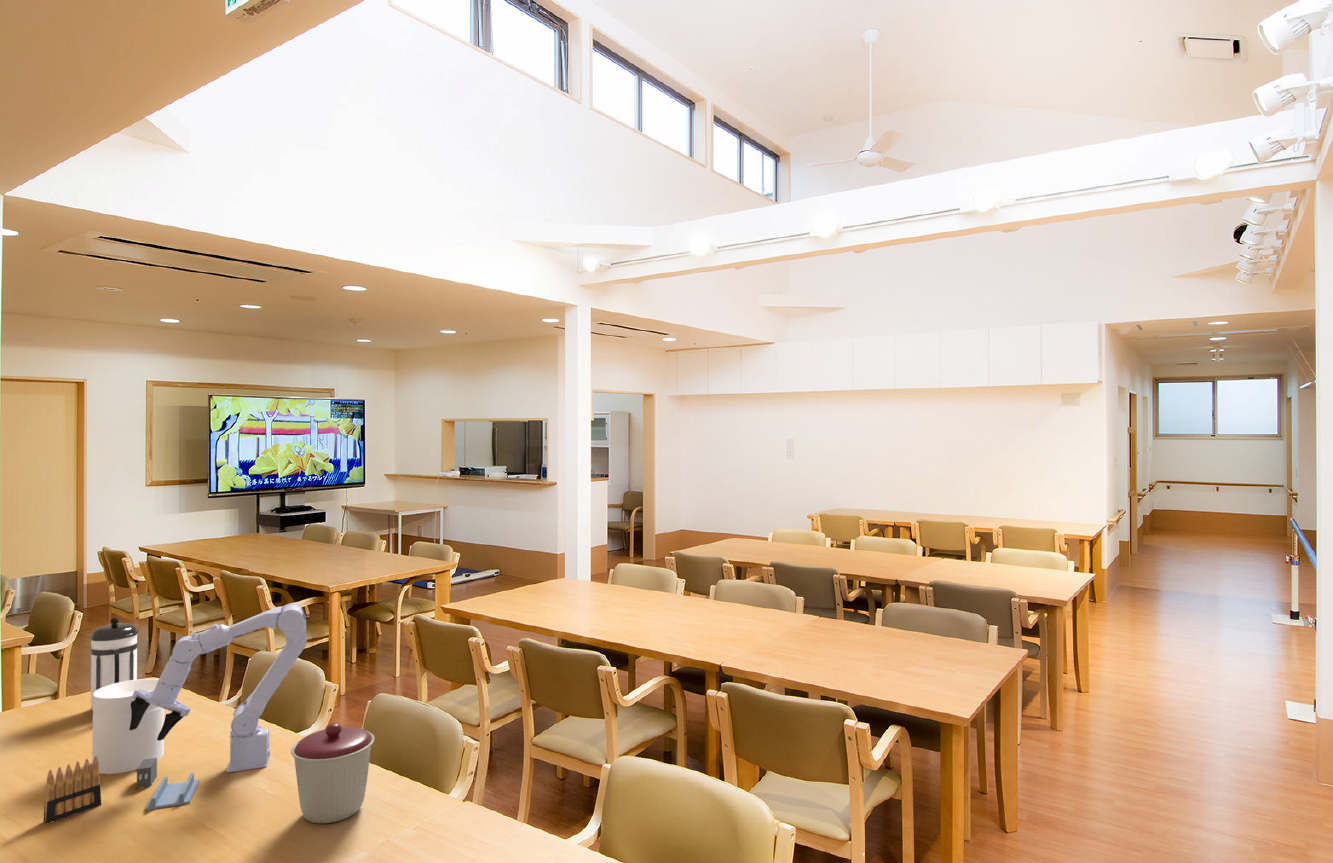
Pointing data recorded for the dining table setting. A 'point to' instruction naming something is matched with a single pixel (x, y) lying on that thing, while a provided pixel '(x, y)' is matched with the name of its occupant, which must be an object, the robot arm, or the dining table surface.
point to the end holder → (173, 793)
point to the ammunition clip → (72, 792)
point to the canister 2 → (332, 772)
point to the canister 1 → (124, 728)
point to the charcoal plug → (146, 772)
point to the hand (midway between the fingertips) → (146, 734)
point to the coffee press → (113, 654)
